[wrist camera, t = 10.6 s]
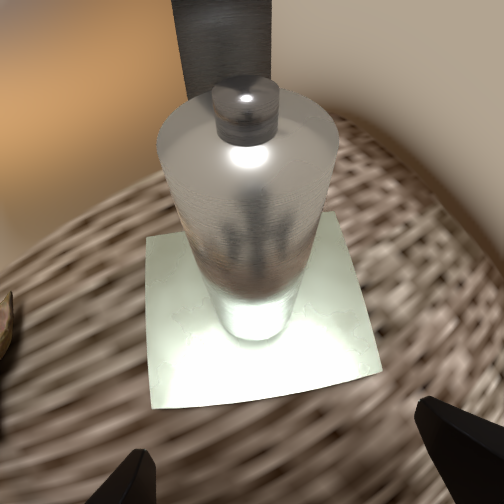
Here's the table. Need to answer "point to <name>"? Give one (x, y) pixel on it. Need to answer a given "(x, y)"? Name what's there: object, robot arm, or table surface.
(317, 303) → the press
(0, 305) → the ceramic sculpture
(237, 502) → the table surface
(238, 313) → the cocktail shaker
